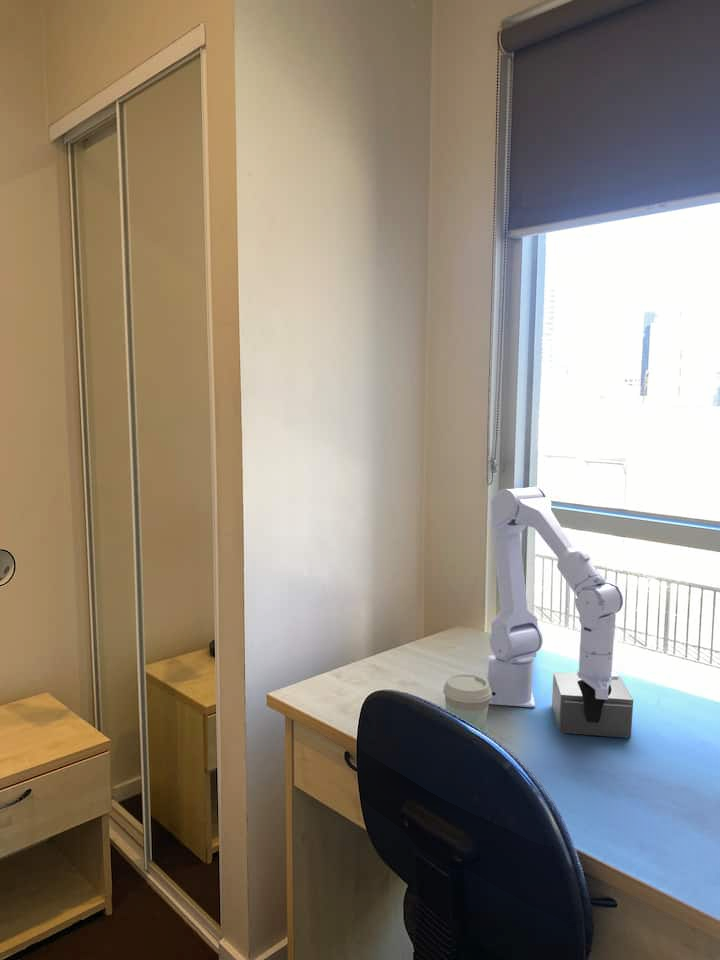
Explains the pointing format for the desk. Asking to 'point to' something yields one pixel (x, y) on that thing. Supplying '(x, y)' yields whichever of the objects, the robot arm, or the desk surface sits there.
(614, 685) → the player housing
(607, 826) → the desk surface
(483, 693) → the coffee cup
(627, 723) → the tray
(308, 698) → the desk surface
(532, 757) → the desk surface
